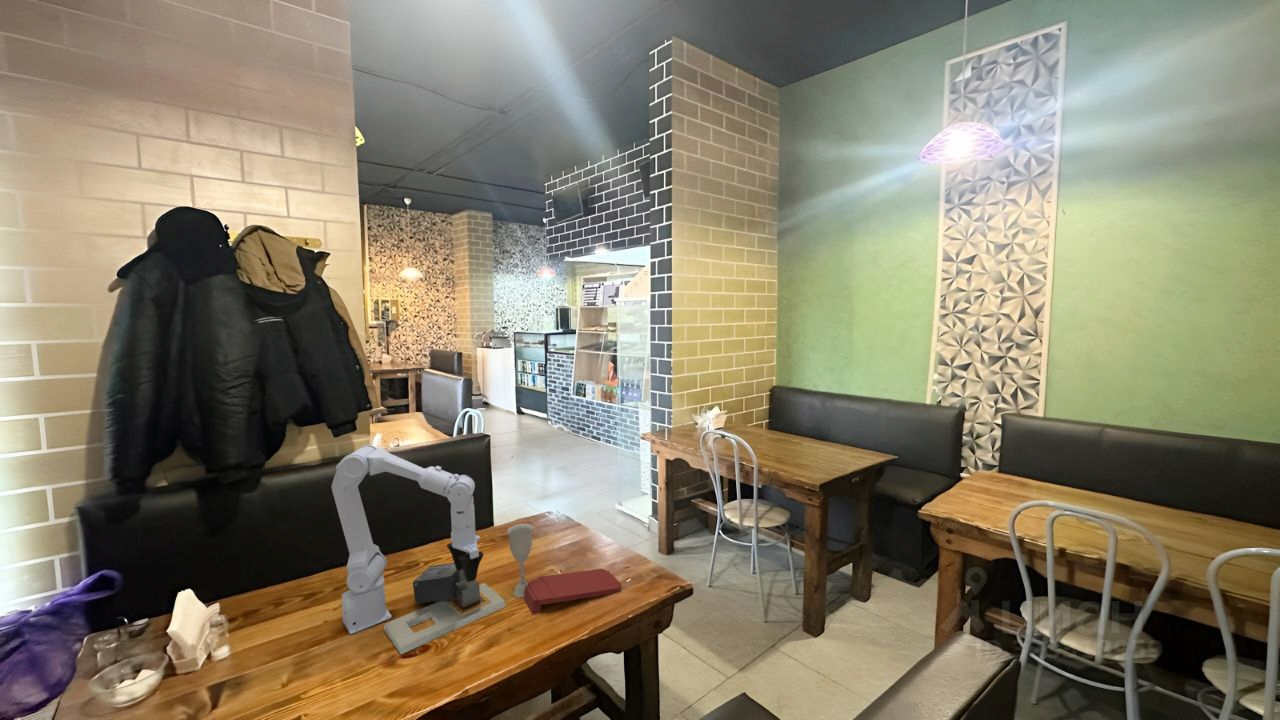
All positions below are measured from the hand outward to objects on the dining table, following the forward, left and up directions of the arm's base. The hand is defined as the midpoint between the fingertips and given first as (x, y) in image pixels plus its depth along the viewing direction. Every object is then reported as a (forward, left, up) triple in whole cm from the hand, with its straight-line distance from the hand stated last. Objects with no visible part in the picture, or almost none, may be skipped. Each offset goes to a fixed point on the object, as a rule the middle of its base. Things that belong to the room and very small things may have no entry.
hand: (465, 574), depth 128 cm
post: (0, 0, -9) cm, 9 cm away
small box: (+1, +14, -6) cm, 16 cm away
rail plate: (-6, 0, -9) cm, 11 cm away
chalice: (+14, -3, -10) cm, 18 cm away
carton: (+24, -14, -10) cm, 29 cm away
